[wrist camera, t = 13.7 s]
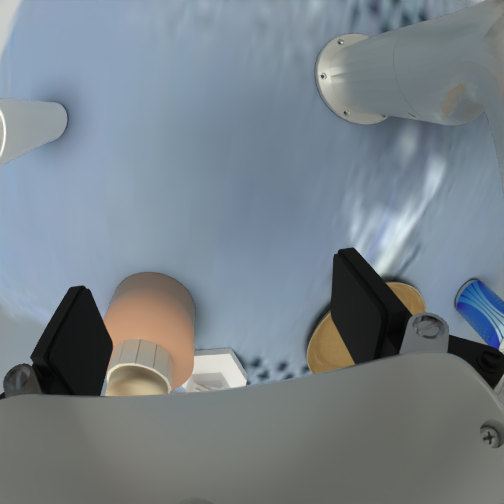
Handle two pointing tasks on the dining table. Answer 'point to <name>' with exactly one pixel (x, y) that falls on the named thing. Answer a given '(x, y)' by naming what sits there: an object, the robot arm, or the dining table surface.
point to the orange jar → (152, 327)
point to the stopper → (135, 382)
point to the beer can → (482, 312)
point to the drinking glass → (28, 126)
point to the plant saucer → (331, 344)
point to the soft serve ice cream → (215, 371)
